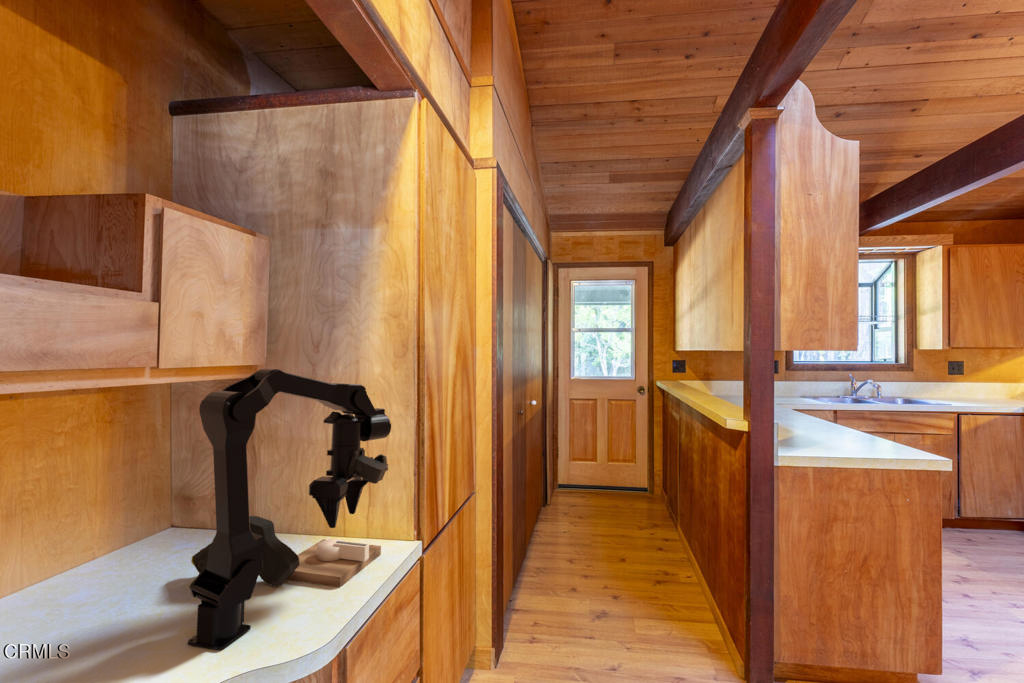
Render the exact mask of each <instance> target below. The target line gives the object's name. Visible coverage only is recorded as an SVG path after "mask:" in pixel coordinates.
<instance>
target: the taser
mask: <svg viewBox="0 0 1024 683" xmlns="http://www.w3.org/2000/svg"><path fill="white" fill-rule="evenodd" d="M249 519H250V529H251V531H252V533H254V534H257V535H260V536H263V537H264V539H265V546H264V554H265V557H266V561H263V568H262V572H261V574H260V575H258V577H260V579H261V580H262V581H263V582H265V583H266V584H268V585H270V586H271V587H273V588H278V587H279V586H280V585H282V584H283V583H284V582H285V581H288V580H287V579H288V578H289V576H290V575H291V574H292V573H293V572H294V571H295V570H296V569H297V567H298V566H299V565H300V563H299V557H298V556H297V555H298V554H297V553H296V552H295V551H294V550H293V549H292V548H291V547H290V546H289V545H287V544H286V543H285V542H283V541H282V540H280V539H279V538H278V536H277V534H276V531H275V523H274V521H272V520H270V519H266V518H264V517H261V516H257V515H249ZM210 545H211V543H209V544H208V545H207V546H205V547H202V548H201V549H199V551H198V552H196V553H195V554H194V555H192V556H191V559H190V561H191V564H192V565H193V566H194V568H195V570H197V573H198V575H199V574H200V572H201V571H202V570H203V569H204V567H205V566H206V565H207V558H208V551H209V547H210Z"/></svg>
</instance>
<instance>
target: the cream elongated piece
mask: <svg viewBox="0 0 1024 683" xmlns="http://www.w3.org/2000/svg"><path fill="white" fill-rule="evenodd" d="M324 540H325V541H322V542H320V541H319V542H320V543H318V542H317V543H318V544H317V557H316V558H317V559H318V560H321V561H334V560H338V559H348V560H356V561H366V560H367V559H368V558H369V545H370V544H369V543H364V542H363V543H362V542H353V541H346V540H345V539H340V538H331V539H324Z"/></svg>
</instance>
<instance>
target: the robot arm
mask: <svg viewBox="0 0 1024 683" xmlns="http://www.w3.org/2000/svg"><path fill="white" fill-rule="evenodd" d="M278 393H279V394H283V395H287V396H292V397H296V398H302V399H307V400H312V401H316V402H319V403H320V404H322V405H323V406H325V407H327V408H330V409H332V410H334V411H332V412H331V413H330V414H329V415H328V416H326V418H324V419H323V423H324V424H327V425H329V424H330V425H331V426H332V427H331V428H332V429H331V447H330V448H331V449H328V450H326V451H327V452H326V453H327V454H326V456H330V467H329V469H327V470H326V471H325V472H326V474H325V475H324V476H320V477H318V478H315V479H314V480H312V482H311V483H309V485H308V496H311V498H312V499H315V501H316V503H317V504H318V506H319V508H320V510H321V513H322V514H323V517H324V519H325V521H326V523H327V525H328V527H329V528H330V529H335V528H336V527H337V521H338V517H339V511H340V510H339V509H340V505H341V502H342V500H343V499H344V498H345V502H346V506H347V510H348V513H349V515H355V514H356V511H357V507H358V504H359V502H360V498H361V494H362V492H363V489H364V487H365V486H366V485H368V484H369V483H371V484H374V485H375V484H379V482H380V481H383V479H384V476H385V474H386V472H387V471H388V470H389V467H388V466H389V463H388V459H387V456H386V455H384V454H378V455H377V456H375V457H373V456H371V457H369V456H366V450H365V449H364V448H365V447H361V444H362V442H367V441H368V442H369V441H375V440H380V439H386V438H388V436H389V435H390V433H391V431H392V423H391V421H390V418H389V417H388V416H387V414H386V410H385V408H378V407H377V408H375V406H374V405H373V403H372V400H371V399H370V397H369V396H368V393H367V388H366V387H365V386H364V385H362V384H360V383H358V384H356V383H355V384H354V383H342V382H326V381H322V380H318V379H317V380H316V379H314V378H309V377H307V376H306V377H305V376H301V375H297V374H293V373H289V372H286V371H285V372H284V371H282V370H281V369H277V368H260V369H258V370H257V371H255V372H254V373H252V374H250V375H249V376H247V377H245V378H243V379H241V380H237V381H236V382H233V383H231V384H229V385H227V386H226V387H224V388H223V389H221V390H215V391H212V392H210V393H208V394H207V395H206V396H205V397H204V398H203V399H202V400H201V401H200V403H199V409H198V411H199V416H200V419H201V424H202V427H203V431H204V433H205V435H206V438H207V439H208V440H209V442H210V443H211V444H210V445H211V446H212V451H213V452H212V453H213V473H214V474H213V476H214V497H215V498H214V499H215V500H214V502H215V523H216V533H215V536H214V538H213V540H212V541H211V542H210V544H211V545H210V547H209V551H208V558H207V565H206V566H205V567H204V569H203V570H202V571H201V572H200V574H199V573H198V575H197V576H196V577H195V579H194V580H193V581H192V582H191V583H190V585H189V590H190V594H191V596H192V598H196V599H199V600H201V601H200V603H199V604H198V605H197V616H196V617H197V618H196V634H195V635H194V636H192V637H191V638H190V639H188V640H187V645H189V646H195V647H201V648H205V649H211V650H218V651H221V650H224V649H225V648H226V647H229V645H231V644H232V643H234V642H235V641H237V639H239V638H241V637H242V636H244V635H245V634H246V633H247V632H249V631H250V630H251V628H252V625H251V624H244V622H245V606H246V604H245V603H246V601H248V600H251V598H252V596H253V592H254V589H255V588H256V584H257V580H258V579H259V575H260V574H261V572H262V568H263V561H266V557H265V554H264V546H265V539H264V537H263V536H260V535H257V534H254V533H252V531H251V529H250V519H249V517H250V501H249V500H250V498H249V494H250V493H249V473H248V472H249V471H248V468H249V467H248V448H247V446H248V442H249V440H250V438H251V435H252V434H253V432H254V430H255V428H256V427H255V426H256V419H257V414H258V413H260V412H261V411H262V410H264V409H265V408H266V407H267V406H269V404H270V403H271V402H272V400H273V399H274V397H275V396H276V395H277V394H278ZM342 413H343V414H342Z"/></svg>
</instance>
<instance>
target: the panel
mask: <svg viewBox="0 0 1024 683" xmlns="http://www.w3.org/2000/svg"><path fill="white" fill-rule="evenodd" d="M325 540H326V539H322V540H320V541H318V542H316V543H315V544H314V545H312V546H309V547H308V548H306V549H305V550H303V551H302V552H300V553H298V554H297V556H298V557H299V563H300V565H299V566H298V567H297V569H296V570H295V571H294V572H293V573H292V574H291V575H290V576H289V578H288V579H287V580H286V581H290V582H291V581H293V582H298V583H305V584H312V585H313V584H314V585H320V586H326V587H335V588H336V587H337V588H341V587H342V586H344V585H345V584H346V583H348V582H349V581H351V579H353V577H355V576H356V575H357V574H359V573H360V572H362V570H364V569H365V568H366V567H368V566H369V564H371V563H372V562H373V561H375V560H376V559H377V558H378V557H380V556H381V555H382V553H381V552H382V545H377V544H376V545H375V544H369V558H368V559H367V560H366V561H356V560H348V559H338V560H334V561H321V560H318V559H317V558H316V557H317V544H318V543H320V542H322V541H325Z"/></svg>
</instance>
